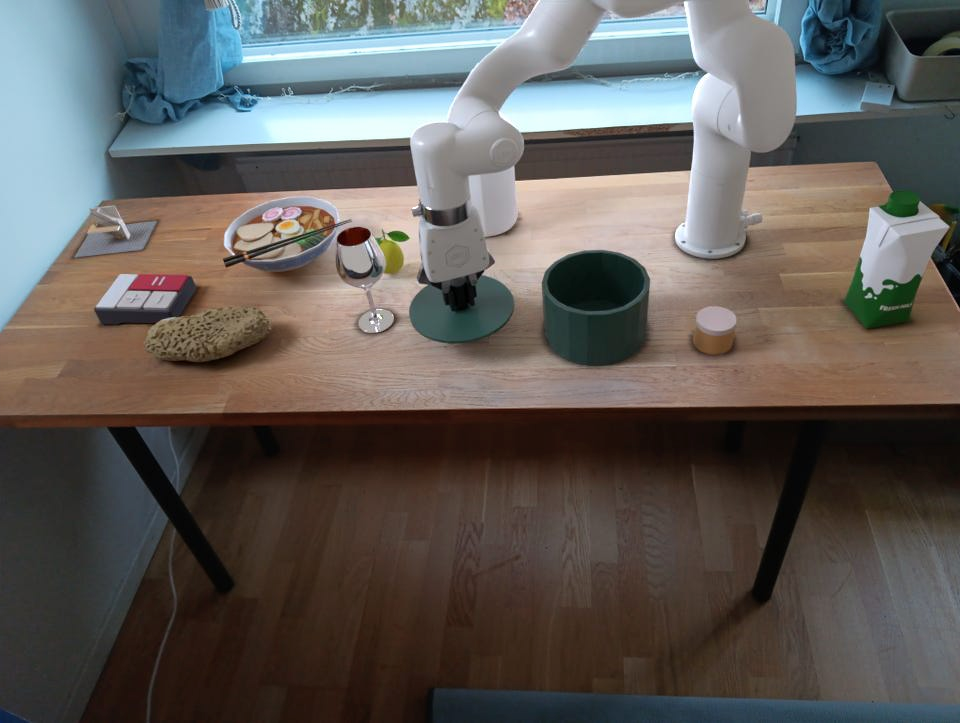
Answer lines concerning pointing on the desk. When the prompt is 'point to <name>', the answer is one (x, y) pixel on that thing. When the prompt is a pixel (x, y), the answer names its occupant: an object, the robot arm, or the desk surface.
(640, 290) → the pot
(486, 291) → the lid
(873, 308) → the milk carton
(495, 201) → the can
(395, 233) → the lemon
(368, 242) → the wineglass
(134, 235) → the architectural model
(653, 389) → the desk surface
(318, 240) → the ramen bowl
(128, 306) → the calculator
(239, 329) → the sponge
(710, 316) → the cake
